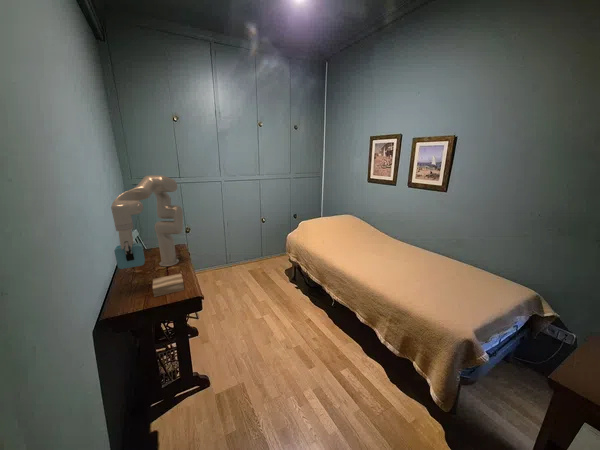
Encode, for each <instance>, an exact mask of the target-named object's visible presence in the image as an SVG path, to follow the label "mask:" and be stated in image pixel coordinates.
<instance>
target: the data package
mask: <svg viewBox="0 0 600 450" xmlns="http://www.w3.org/2000/svg"><path fill="white" fill-rule="evenodd" d="M129 248H130V247H129ZM131 249H132V253H133V256H134V260H131V261H127V259H126V253H125V247H124V249H123V250H122V249H121V245H117V246H116V247H115V248H114V255H115V260H116V265H117V268H118V269H120V270H124V269H129V268H135V267H141V266H144V265H145V261H146V258H145V253H144V247H143V244H142V243H141V242H135V243H133V247H132V248H131ZM129 250H130V249H129Z"/></svg>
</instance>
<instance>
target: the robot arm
mask: <svg viewBox="0 0 600 450" xmlns="http://www.w3.org/2000/svg"><path fill="white" fill-rule="evenodd" d="M177 190H178V183H177V182H176V180H175V179H172V178H171V177H168V176H165V175H161V174H158V175H145V176H144V177H143V178H142V179H141V180H140V181H139V183H137V185H136V186H135V187H133V188H132V189H131V188H130V189H128V190H127V191H124V192H123V193H121V194H119V195H118V196H117V197H115V199H114V201H113V202H112V204H111V207H110V208H111V213H112V218H113V222H114V227H115V231H116V232H118V238H119V239H118V240H119V244H120V245H121V249H122V250H123V249H124V247H125V253H126V259H127V261H131V260H134V256H133V253H132V249H131V248H132V247H133V244H134V237H133V231H132V230H133V229H134V223H133V219H132V216H133V215H139V214H141V213H142V212H143V210H144V204H143V203H142V202H141V201H143V200H146V199H148V198H150V196H151V195H152V194H154V195H155V198H156V214H157V217H158V218H159V219H163V220H160V221H156V223H155V224H154V231H155V234H156V236H157V237H156V238H157V241H158V248H159V253H160V260H161V261H160V262H159V263H158V265H159V266H160V267H163V268H164V267H166V268H167V267H172V266H175V265H177V264H178V263H179V262H180V260H179V259H178V258H177V253H176V247H175V239H174V237H173V235H180V234H181V233H182V232H183V230H184V221H183V220H184V219H183V217H184V214H183V213H184V212H183V208H182V207H181V206H180V205H178V204H175V205H173V204H172V200H171V199H172V198H171V196H170V195H169V194H168V193H174V192H176V191H177ZM120 245H119V246H120ZM129 247H130V248H129ZM129 249H130V250H129Z"/></svg>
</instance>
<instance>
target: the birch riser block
mask: <svg viewBox="0 0 600 450" xmlns="http://www.w3.org/2000/svg"><path fill="white" fill-rule="evenodd" d="M182 274H183V273H180V272H179V273H175V274H171V275H167V276H165V275H164V276H161V277H155V278H152V293H153V298H157V297H161V296H164V295H169V294H173V293H174V294H175V293H178V292H182V291H185V285H184V279H183V275H182Z"/></svg>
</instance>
